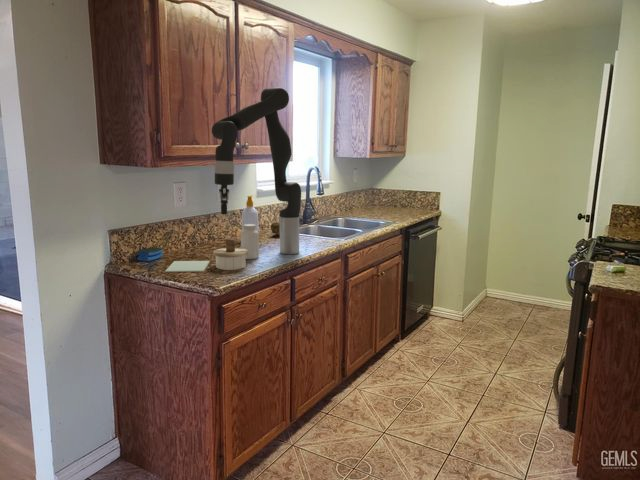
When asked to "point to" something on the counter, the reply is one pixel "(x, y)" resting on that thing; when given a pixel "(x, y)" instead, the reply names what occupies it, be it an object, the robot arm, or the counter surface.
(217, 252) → the lid
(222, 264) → the bowl
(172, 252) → the counter surface
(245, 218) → the soap bottle
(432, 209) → the counter surface
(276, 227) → the potato
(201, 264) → the mat
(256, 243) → the pill bottle
